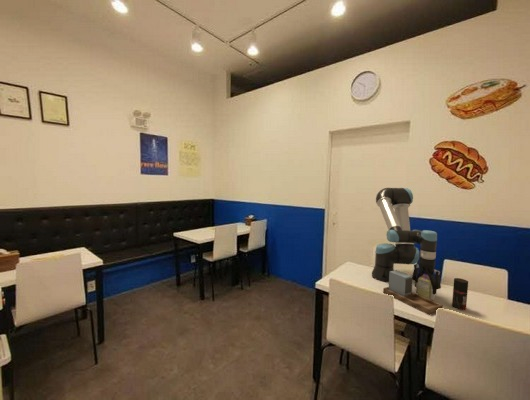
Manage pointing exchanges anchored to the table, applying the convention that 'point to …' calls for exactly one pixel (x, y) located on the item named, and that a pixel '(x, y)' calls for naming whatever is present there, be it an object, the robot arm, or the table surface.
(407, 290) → the matte grey rectangular block
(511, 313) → the table surface
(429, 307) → the tray
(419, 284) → the box
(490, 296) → the table surface
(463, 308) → the deodorant
